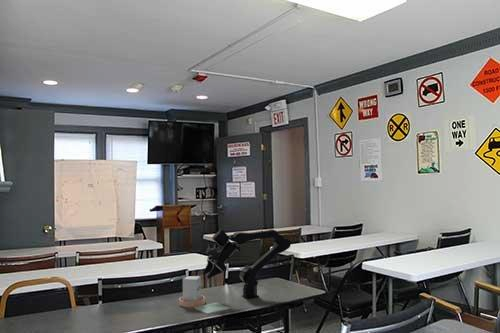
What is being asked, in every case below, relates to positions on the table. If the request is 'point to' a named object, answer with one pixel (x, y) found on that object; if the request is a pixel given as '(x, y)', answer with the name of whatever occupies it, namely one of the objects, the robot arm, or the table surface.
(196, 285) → the supplement box
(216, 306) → the sage mat
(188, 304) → the terracotta ring
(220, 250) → the robot arm
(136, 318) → the table surface
